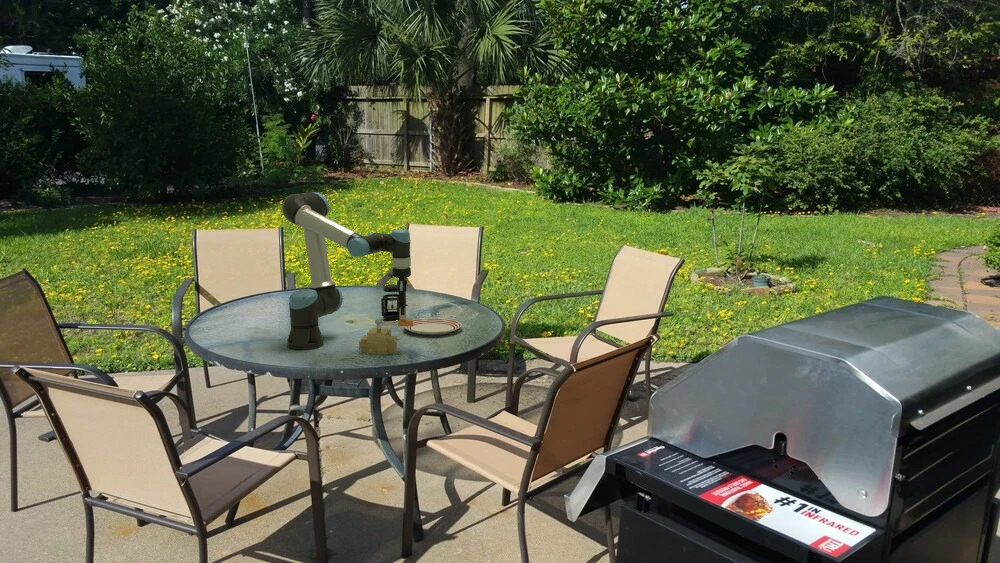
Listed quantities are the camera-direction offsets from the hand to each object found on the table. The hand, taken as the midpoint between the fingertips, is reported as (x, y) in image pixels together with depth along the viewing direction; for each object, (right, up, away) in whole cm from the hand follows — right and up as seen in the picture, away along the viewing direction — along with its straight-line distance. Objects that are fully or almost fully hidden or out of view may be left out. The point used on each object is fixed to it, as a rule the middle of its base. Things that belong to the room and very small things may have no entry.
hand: (403, 321), depth 310 cm
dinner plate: (+9, -6, +33) cm, 35 cm away
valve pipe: (-10, -12, -1) cm, 16 cm away
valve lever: (-3, -3, -2) cm, 5 cm away
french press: (-12, -2, +51) cm, 53 cm away
